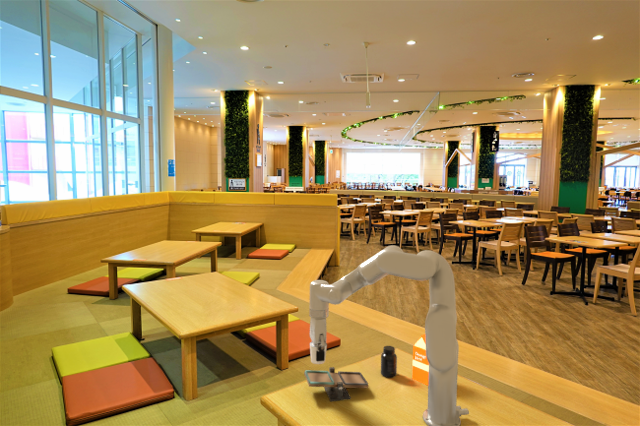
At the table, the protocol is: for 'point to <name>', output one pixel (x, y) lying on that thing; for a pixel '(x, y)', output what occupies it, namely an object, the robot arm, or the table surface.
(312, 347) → the cup of milk
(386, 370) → the supplement bottle
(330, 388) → the pivot stand
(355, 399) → the table surface
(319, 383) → the balance beam board
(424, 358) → the orange juice
